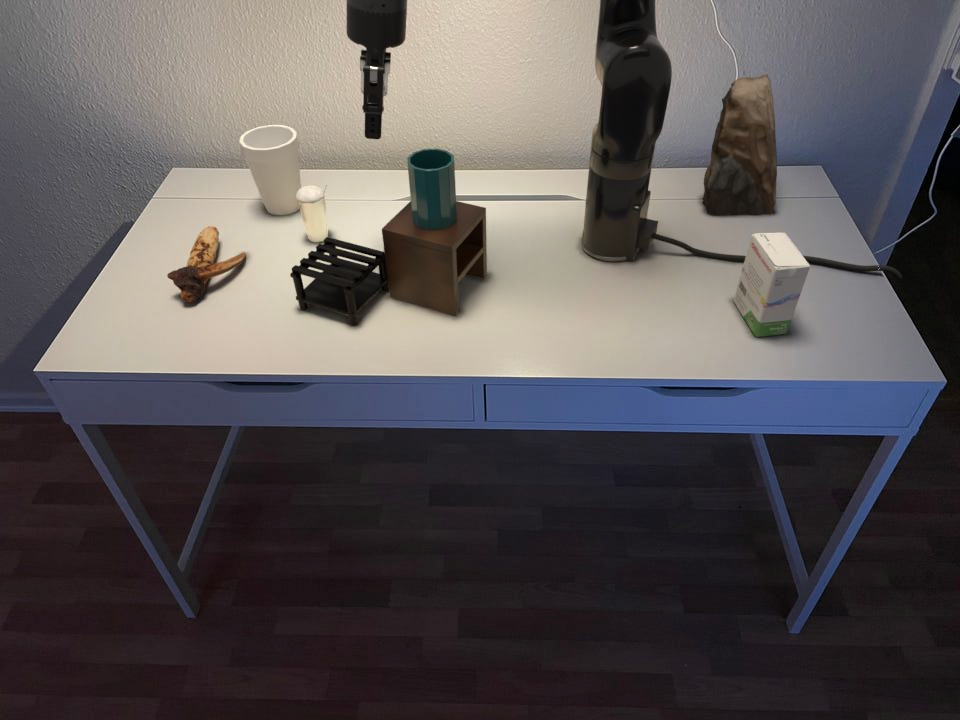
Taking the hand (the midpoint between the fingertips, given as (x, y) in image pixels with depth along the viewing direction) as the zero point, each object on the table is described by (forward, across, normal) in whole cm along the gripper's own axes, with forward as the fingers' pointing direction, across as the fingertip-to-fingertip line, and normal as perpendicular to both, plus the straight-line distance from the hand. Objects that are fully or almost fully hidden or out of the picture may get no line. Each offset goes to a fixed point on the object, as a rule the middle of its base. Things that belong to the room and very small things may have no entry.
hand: (374, 124), depth 101 cm
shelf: (+21, -8, -11) cm, 25 cm away
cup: (+9, -8, -9) cm, 15 cm away
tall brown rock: (+14, +12, -63) cm, 66 cm away
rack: (+23, -10, +3) cm, 26 cm away
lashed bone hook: (+26, -1, +24) cm, 36 cm away
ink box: (+15, -20, -56) cm, 61 cm away
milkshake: (+24, +7, +9) cm, 27 cm away
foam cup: (+25, +18, +16) cm, 35 cm away
